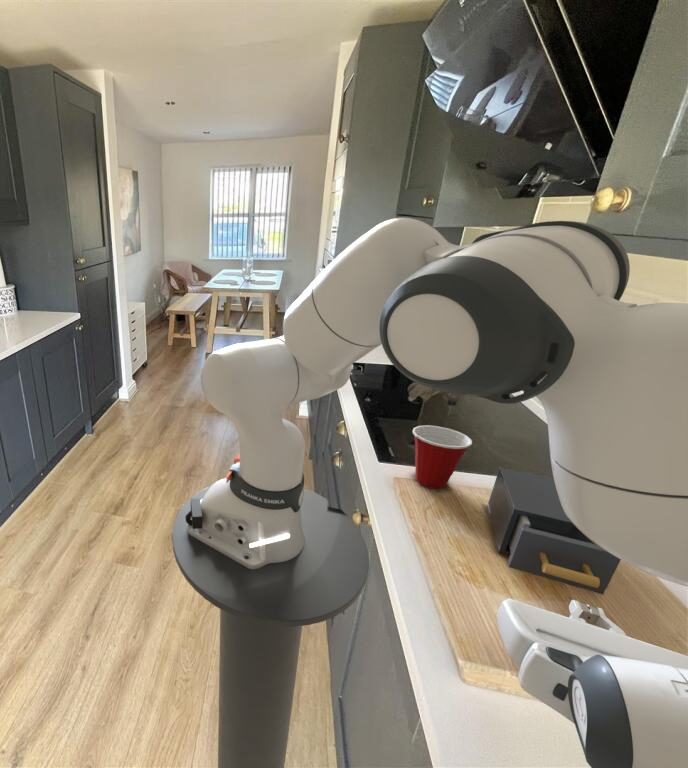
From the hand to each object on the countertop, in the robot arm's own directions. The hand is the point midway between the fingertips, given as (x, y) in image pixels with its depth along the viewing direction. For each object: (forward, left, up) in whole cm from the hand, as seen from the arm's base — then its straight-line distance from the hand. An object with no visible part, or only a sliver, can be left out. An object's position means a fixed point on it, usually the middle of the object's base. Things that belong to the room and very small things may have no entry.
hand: (584, 607), depth 54 cm
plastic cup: (-16, +32, -6) cm, 37 cm away
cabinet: (0, +20, -6) cm, 21 cm away
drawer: (0, +14, -5) cm, 14 cm away
